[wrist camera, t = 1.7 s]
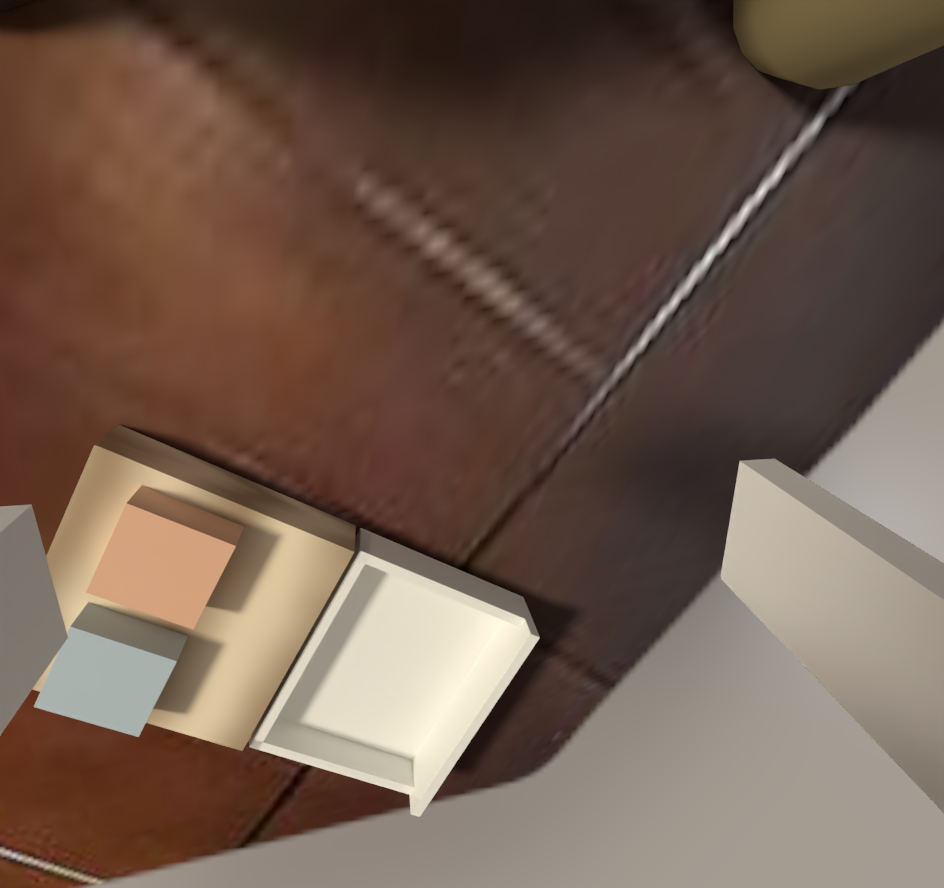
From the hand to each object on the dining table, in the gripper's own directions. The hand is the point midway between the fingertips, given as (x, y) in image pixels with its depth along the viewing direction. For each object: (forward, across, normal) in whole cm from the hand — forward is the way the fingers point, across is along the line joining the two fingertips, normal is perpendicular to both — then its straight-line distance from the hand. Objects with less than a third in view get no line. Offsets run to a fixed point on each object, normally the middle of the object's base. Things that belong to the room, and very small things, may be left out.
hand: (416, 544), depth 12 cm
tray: (+21, -1, -20) cm, 29 cm away
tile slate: (+18, -14, -16) cm, 28 cm away
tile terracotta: (+18, -11, -10) cm, 23 cm away
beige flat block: (+21, -11, -14) cm, 28 cm away
